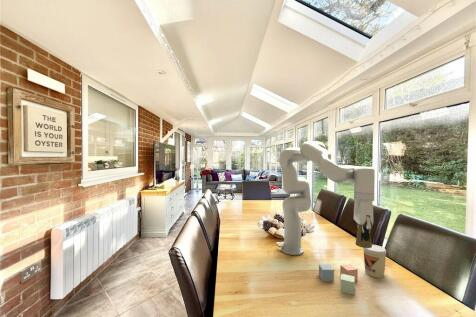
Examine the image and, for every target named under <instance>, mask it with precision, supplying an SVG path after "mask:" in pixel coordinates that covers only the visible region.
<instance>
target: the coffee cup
mask: <svg viewBox="0 0 476 317" xmlns="http://www.w3.org/2000/svg"><path fill="white" fill-rule="evenodd" d="M362 249H363V261H364V262H363V263H364V271H365V273H366V274H367V275H369V276H371V277H373V278H383V277H385V273H386V272H385V269H386V268H385V267H386V258H387V250H386V248H384V247H383V246H380V245H377V244H372V248H362Z"/></svg>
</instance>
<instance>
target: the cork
mask: <svg viewBox="0 0 476 317" xmlns="http://www.w3.org/2000/svg"><path fill="white" fill-rule="evenodd" d="M356 225H357V226H358V227H357V233H356V239H355V245H356V246H358V248H362V249H363V248H372V245H373V244H372V243H373V242H372V238H371V237H372V236H371V234H370V242H369V239H368V241H365V240H364V237H363V240H362V242H361V232H362V225H359V224H358V223H357V222H356ZM364 225H366V223H364ZM365 227H366V226H364V228H365Z"/></svg>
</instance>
